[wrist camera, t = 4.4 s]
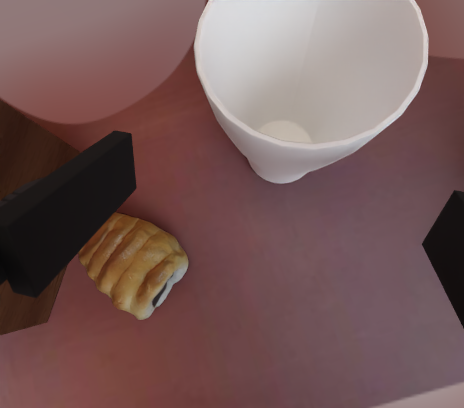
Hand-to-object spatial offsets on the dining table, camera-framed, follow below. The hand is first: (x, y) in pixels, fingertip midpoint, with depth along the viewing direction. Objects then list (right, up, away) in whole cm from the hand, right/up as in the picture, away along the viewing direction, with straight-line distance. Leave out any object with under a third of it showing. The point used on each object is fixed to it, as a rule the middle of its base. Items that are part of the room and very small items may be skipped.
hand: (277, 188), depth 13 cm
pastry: (-10, -6, +13) cm, 17 cm away
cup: (+2, +4, +14) cm, 15 cm away
